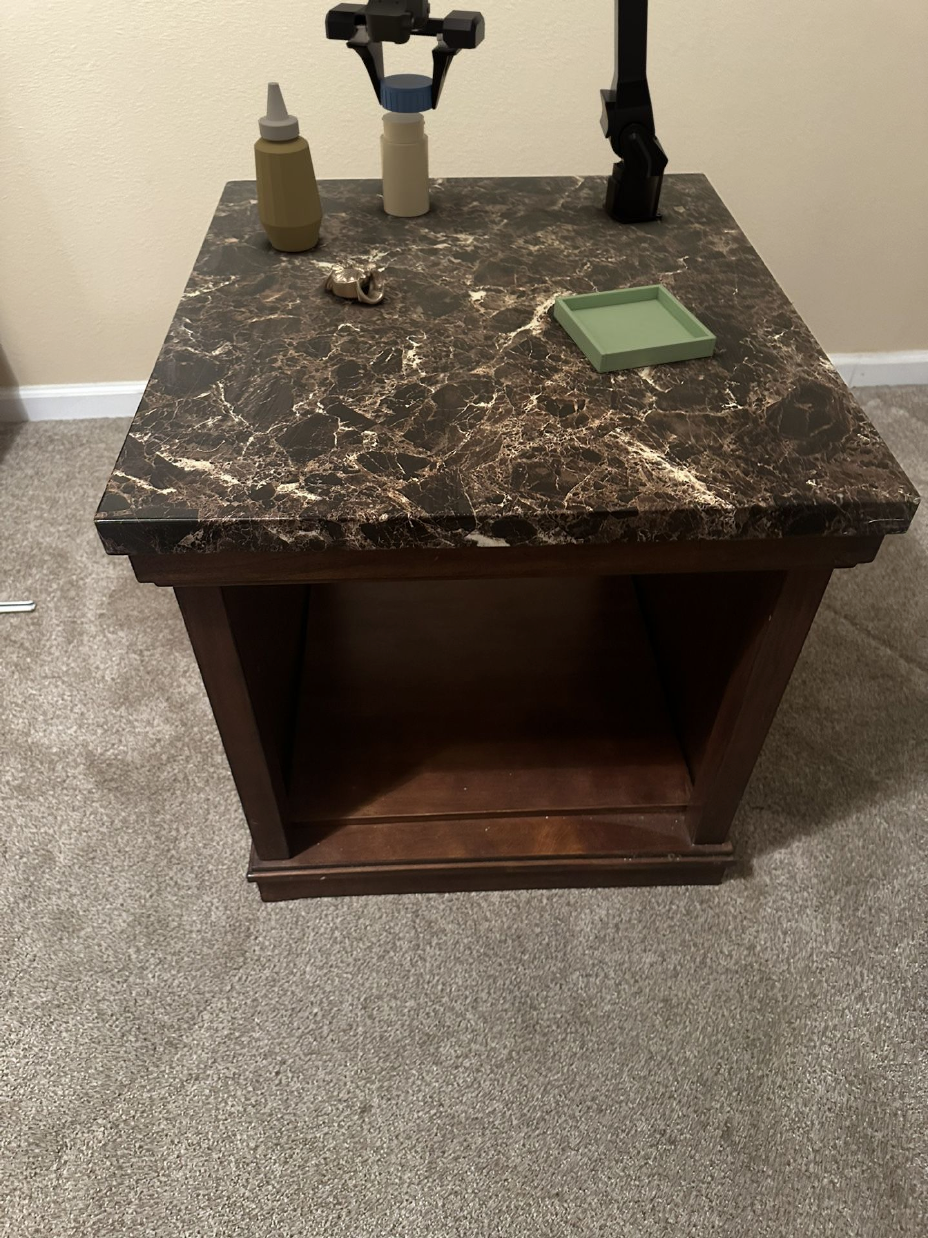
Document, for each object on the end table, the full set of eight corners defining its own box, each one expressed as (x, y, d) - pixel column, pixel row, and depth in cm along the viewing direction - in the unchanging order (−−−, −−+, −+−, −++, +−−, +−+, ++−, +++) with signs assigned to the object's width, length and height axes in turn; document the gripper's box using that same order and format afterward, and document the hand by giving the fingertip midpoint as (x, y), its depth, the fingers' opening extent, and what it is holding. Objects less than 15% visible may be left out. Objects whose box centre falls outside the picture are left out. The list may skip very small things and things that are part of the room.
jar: (422, 197, 119) (420, 107, 110) (434, 214, 115) (433, 121, 106) (379, 201, 117) (373, 110, 109) (389, 218, 113) (384, 125, 105)
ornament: (402, 291, 98) (401, 261, 95) (364, 313, 94) (362, 282, 92) (351, 273, 101) (348, 243, 99) (313, 294, 97) (309, 263, 95)
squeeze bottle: (336, 236, 109) (320, 77, 96) (308, 260, 104) (288, 96, 91) (281, 227, 111) (258, 70, 98) (251, 251, 105) (223, 88, 92)
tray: (657, 301, 97) (661, 283, 96) (712, 355, 89) (717, 337, 87) (553, 315, 95) (555, 297, 93) (599, 373, 86) (601, 354, 84)
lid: (374, 110, 104) (372, 86, 102) (390, 95, 109) (389, 71, 107) (426, 115, 103) (426, 90, 101) (440, 99, 108) (440, 75, 106)
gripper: (300, -41, 91) (317, 119, 102) (465, -32, 88) (464, 132, 99) (334, -57, 98) (346, 94, 110) (487, -49, 95) (484, 105, 107)
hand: (408, 106), depth 106 cm, fingers closed on lid, 7 cm apart
